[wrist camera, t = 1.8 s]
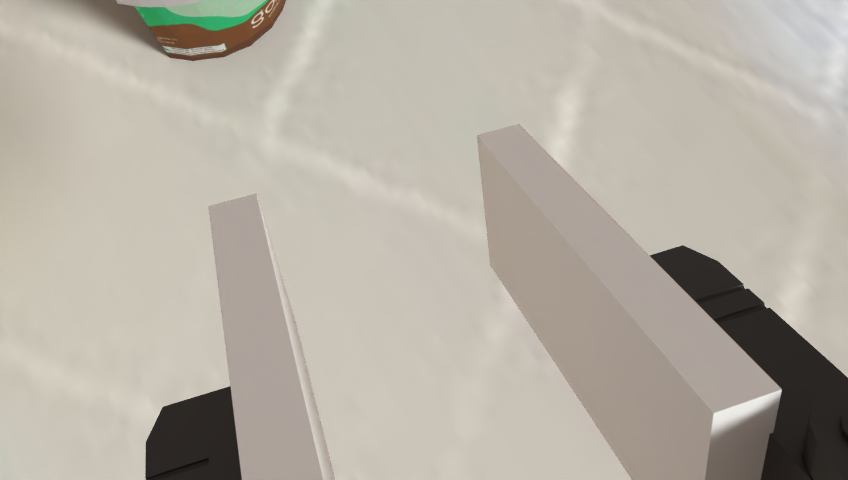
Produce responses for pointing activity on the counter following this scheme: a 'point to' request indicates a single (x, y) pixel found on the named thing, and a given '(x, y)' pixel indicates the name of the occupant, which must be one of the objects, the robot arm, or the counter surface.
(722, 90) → the counter surface
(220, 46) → the food container
